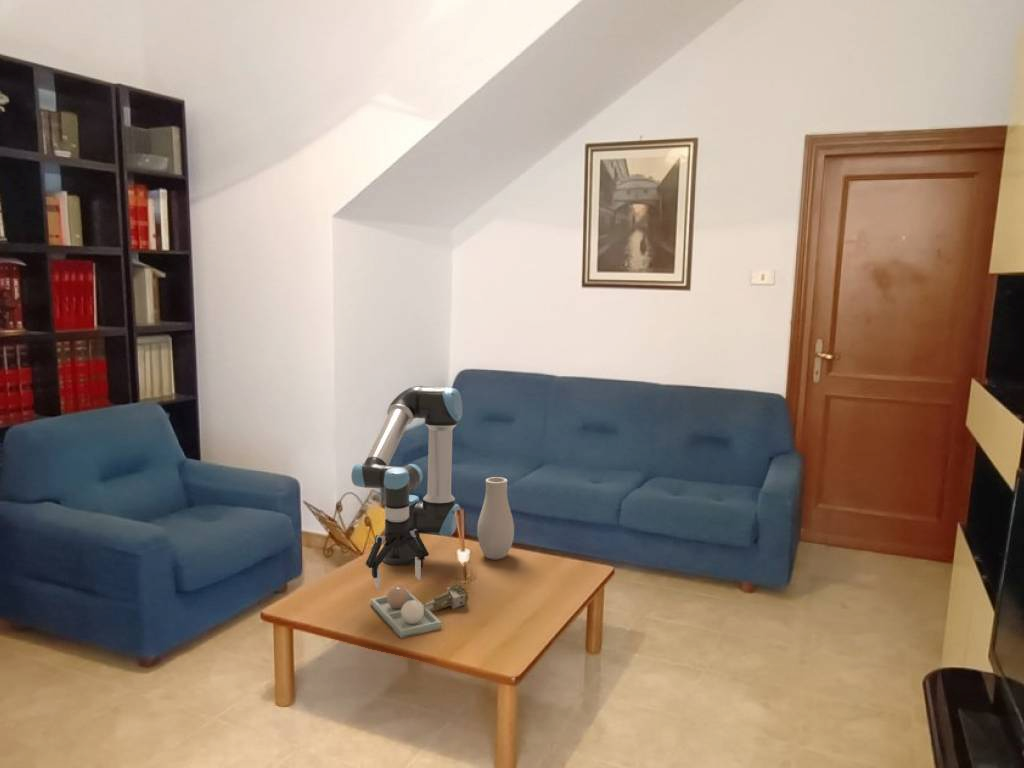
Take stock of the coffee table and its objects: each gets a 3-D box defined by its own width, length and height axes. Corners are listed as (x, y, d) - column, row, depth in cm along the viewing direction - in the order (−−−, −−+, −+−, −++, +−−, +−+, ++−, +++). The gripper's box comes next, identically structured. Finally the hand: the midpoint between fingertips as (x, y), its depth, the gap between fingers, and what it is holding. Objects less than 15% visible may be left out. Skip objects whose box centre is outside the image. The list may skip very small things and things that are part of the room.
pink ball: (412, 609, 243) (412, 588, 242) (391, 614, 239) (391, 592, 238) (403, 601, 249) (403, 580, 248) (383, 605, 245) (383, 584, 244)
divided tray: (408, 597, 253) (408, 591, 252) (441, 628, 231) (441, 621, 231) (370, 605, 246) (370, 599, 246) (400, 638, 225) (400, 631, 225)
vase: (500, 566, 280) (501, 487, 275) (469, 558, 287) (470, 480, 283) (520, 555, 291) (522, 478, 287) (490, 547, 299) (491, 472, 294)
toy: (429, 608, 237) (472, 591, 245) (419, 593, 242) (461, 577, 249) (429, 624, 241) (470, 607, 249) (419, 609, 246) (460, 593, 253)
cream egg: (418, 615, 238) (418, 594, 237) (427, 624, 232) (427, 602, 231) (397, 620, 235) (397, 598, 234) (406, 629, 229) (406, 607, 228)
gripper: (429, 508, 249) (429, 570, 253) (354, 521, 236) (356, 586, 240) (438, 515, 242) (439, 578, 246) (362, 528, 230) (364, 595, 234)
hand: (398, 582), depth 243 cm, fingers open, 13 cm apart
